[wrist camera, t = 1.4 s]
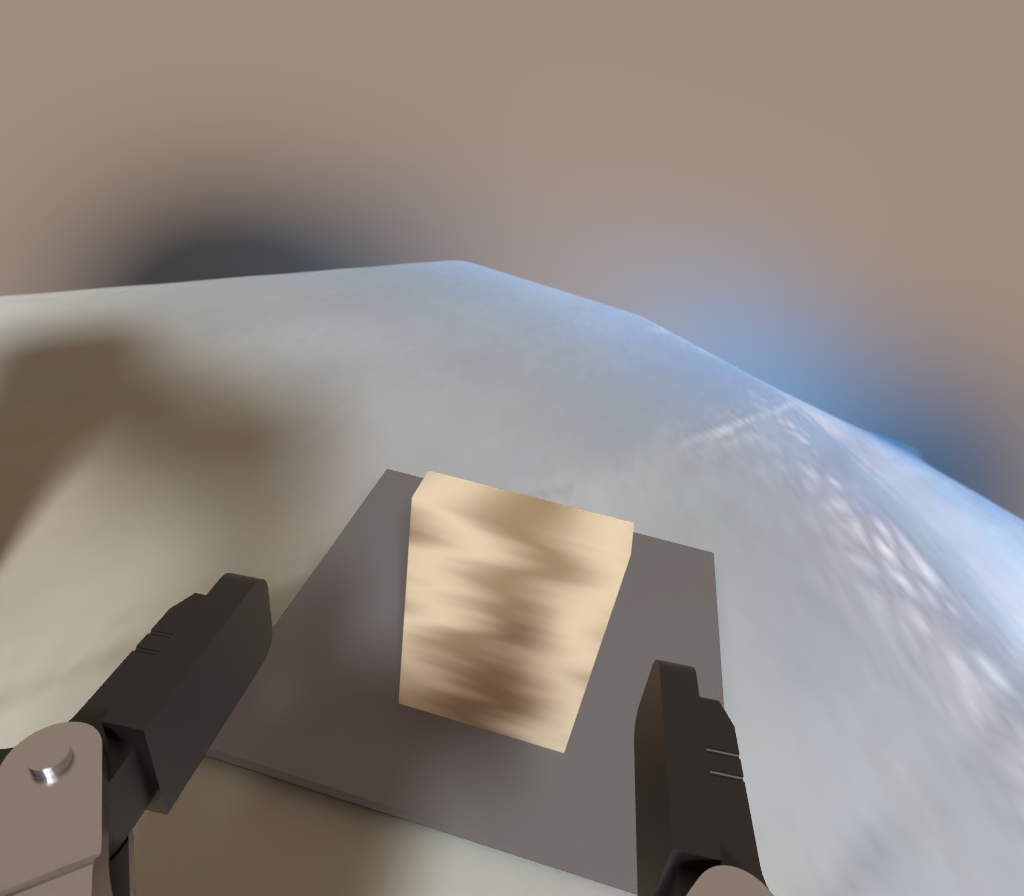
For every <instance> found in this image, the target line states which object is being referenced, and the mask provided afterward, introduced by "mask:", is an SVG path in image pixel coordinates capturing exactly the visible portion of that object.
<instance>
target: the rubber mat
mask: <svg viewBox="0 0 1024 896" xmlns="http://www.w3.org/2000/svg"><path fill="white" fill-rule="evenodd" d="M423 479H424V478H420V477H416V476H412V475H409V474H405V473H401V472H397V471H393V470H389V469H387V470H386V471H385V472H384V474H383V475H382V477H381V478H380V479H379V481H378V482H377V484H376V485H375V486H374V488H373V489H372V491H371V492H370V493H369V495H368V496H367V498H366V499H365V500H364V502H363V503H362V505H361V506H360V507H359V509H358V510H357V512H356V513H355V514H354V516H353V517H352V519H351V520H350V521H349V523H348V524H347V526H346V527H345V528H344V530H343V531H342V533H341V534H340V535H339V537H338V538H337V540H336V541H335V542H334V544H333V545H332V547H331V548H330V549H329V551H328V552H327V554H326V555H325V556H324V558H323V559H322V561H321V562H320V563H319V565H318V566H317V568H316V569H315V570H314V572H313V573H312V575H311V576H310V577H309V579H308V580H307V582H306V583H305V584H304V586H303V587H302V589H301V590H300V591H299V593H298V594H297V596H296V597H295V598H294V600H293V601H292V603H291V604H290V605H289V607H288V608H287V610H286V611H285V612H284V614H283V615H282V617H281V618H280V619H279V621H278V622H277V623H276V625H275V626H274V628H273V629H272V641H271V645H270V649H269V652H268V654H267V657H266V659H265V661H264V662H263V664H262V666H261V667H260V669H259V671H258V672H257V674H256V675H255V677H254V678H253V680H252V682H251V683H250V685H249V686H248V688H247V689H246V691H245V693H244V694H243V696H242V697H241V699H240V700H239V702H238V704H237V705H236V707H235V708H234V710H233V712H232V713H231V715H230V716H229V718H228V719H227V721H226V723H225V724H224V726H223V727H222V729H221V730H220V732H219V734H218V735H217V737H216V738H215V740H214V741H213V743H212V745H211V746H210V748H209V749H208V751H207V753H206V754H205V755H206V756H209V757H212V758H216V759H219V760H222V761H225V762H228V763H231V764H234V765H237V766H240V767H243V768H247V769H250V770H253V771H256V772H259V773H262V774H265V775H268V776H271V777H274V778H278V779H281V780H284V781H287V782H290V783H293V784H296V785H299V786H302V787H305V788H309V789H312V790H315V791H318V792H321V793H324V794H327V795H330V796H333V797H336V798H340V799H343V800H346V801H349V802H352V803H355V804H358V805H361V806H364V807H367V808H371V809H374V810H377V811H380V812H383V813H386V814H389V815H392V816H395V817H398V818H401V819H405V820H408V821H411V822H414V823H417V824H420V825H423V826H426V827H429V828H432V829H436V830H439V831H442V832H445V833H448V834H451V835H454V836H457V837H460V838H463V839H467V840H470V841H473V842H476V843H479V844H482V845H485V846H488V847H491V848H494V849H498V850H501V851H504V852H507V853H510V854H513V855H516V856H519V857H522V858H525V859H529V860H532V861H535V862H538V863H541V864H544V865H547V866H550V867H553V868H556V869H560V870H563V871H566V872H569V873H572V874H575V875H578V876H581V877H584V878H587V879H591V880H594V881H597V882H600V883H603V884H606V885H609V886H612V887H615V888H618V889H621V890H625V891H628V892H631V893H634V894H637V895H638V893H637V851H636V810H635V768H634V729H635V721H636V715H637V711H638V707H639V704H640V701H641V698H642V695H643V692H644V689H645V686H646V683H647V680H648V677H649V674H650V671H651V668H652V665H653V663H654V661H655V660H656V659H657V660H662V661H667V662H672V663H677V664H682V665H687V666H692V667H694V668H695V670H696V674H697V681H698V688H699V696H700V697H703V698H708V699H713V700H718V701H719V702H720V703H721V705H722V707H723V708H724V702H723V687H722V672H721V657H720V642H719V627H718V613H717V598H716V583H715V568H714V553H712V552H708V551H704V550H700V549H696V548H692V547H689V546H685V545H681V544H677V543H673V542H669V541H665V540H661V539H657V538H654V537H650V536H646V535H642V534H638V533H634V532H633V538H632V548H631V556H630V559H629V562H628V565H627V568H626V571H625V574H624V577H623V580H622V583H621V586H620V588H619V591H618V594H617V597H616V600H615V603H614V606H613V609H612V612H611V615H610V618H609V621H608V624H607V627H606V630H605V633H604V636H603V639H602V642H601V645H600V648H599V651H598V654H597V657H596V660H595V663H594V666H593V669H592V672H591V675H590V678H589V681H588V684H587V687H586V690H585V693H584V695H583V698H582V701H581V704H580V707H579V710H578V713H577V716H576V719H575V722H574V725H573V728H572V731H571V734H570V737H569V740H568V743H567V746H566V749H565V752H564V753H562V752H559V751H555V750H552V749H549V748H545V747H542V746H539V745H535V744H532V743H529V742H525V741H522V740H519V739H515V738H512V737H509V736H505V735H502V734H499V733H495V732H492V731H489V730H485V729H482V728H479V727H476V726H472V725H469V724H466V723H462V722H459V721H456V720H452V719H449V718H446V717H442V716H439V715H436V714H432V713H429V712H426V711H422V710H419V709H416V708H412V707H409V706H406V705H402V704H399V688H400V673H401V657H402V642H403V627H404V611H405V596H406V581H407V565H408V550H409V534H410V519H411V504H412V497H413V495H414V493H415V492H416V490H417V488H418V487H419V485H420V483H421V482H422V480H423Z"/></svg>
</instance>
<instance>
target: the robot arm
mask: <svg viewBox="0 0 1024 896" xmlns="http://www.w3.org/2000/svg"><path fill="white" fill-rule="evenodd" d="M271 641H272V623H271V614H270V604H269V594H268V586H267V583H266V581H265V580H263V579H258V578H253V577H248V576H243V575H238V574H233V573H227V574H225V575H223V576H222V577H221V578H220V579H219V581H218V582H217V583H216V584H215V585H214V587H213V588H212V589H211V590H210V591H209V593H208V594H207V595H202V594H197V593H194V594H193V595H191V596H190V597H188V598H186V599H185V600H183V601H182V602H180V603H178V604H177V605H175V606H174V607H172V608H170V609H169V610H168V611H167V612H166V614H165V615H164V616H163V617H162V618H161V619H160V620H159V621H158V623H157V624H156V625H155V626H154V627H153V628H152V629H151V633H150V634H147V635H146V636H145V637H144V638H143V640H142V641H141V642H140V643H139V644H138V645H137V646H136V650H135V651H132V652H131V653H130V654H129V655H128V656H127V658H126V659H125V660H124V661H123V662H122V663H121V664H120V665H119V667H118V668H117V669H116V670H115V671H114V672H113V673H112V674H111V676H110V677H109V678H108V679H107V680H106V681H105V682H104V684H103V685H102V686H101V687H100V688H99V689H98V690H97V691H96V693H95V694H94V695H93V696H92V697H91V698H90V699H89V700H88V702H87V703H86V704H85V705H84V706H83V707H82V708H81V709H80V711H79V712H78V713H77V714H76V715H75V716H74V717H73V718H72V719H71V720H70V721H68V722H64V723H59V724H55V725H52V726H49V727H46V728H43V729H41V730H39V731H37V732H35V733H34V734H32V735H30V736H28V737H27V738H26V739H24V740H23V741H21V742H20V743H19V744H18V745H17V746H16V747H14V748H8V749H0V896H135V872H134V842H133V831H132V829H133V827H134V826H135V824H136V823H137V821H138V820H139V818H140V817H141V815H142V814H143V812H144V811H145V810H150V811H154V812H158V813H163V814H168V812H169V811H170V809H171V808H172V806H173V805H174V803H175V801H176V800H177V798H178V797H179V795H180V794H181V792H182V790H183V789H184V787H185V786H186V784H187V782H188V781H189V779H190V778H191V776H192V775H193V773H194V771H195V770H196V768H197V767H198V765H199V764H200V762H201V760H202V759H203V757H204V756H205V754H206V753H207V751H208V749H209V748H210V746H211V745H212V743H213V741H214V740H215V738H216V737H217V735H218V734H219V732H220V730H221V729H222V727H223V726H224V724H225V723H226V721H227V719H228V718H229V716H230V715H231V713H232V712H233V710H234V708H235V707H236V705H237V704H238V702H239V700H240V699H241V697H242V696H243V694H244V693H245V691H246V689H247V688H248V686H249V685H250V683H251V682H252V680H253V678H254V677H255V675H256V674H257V672H258V671H259V669H260V667H261V666H262V664H263V662H264V661H265V659H266V657H267V654H268V652H269V649H270V645H271ZM634 768H635V810H636V851H637V893H638V896H773V894H772V893H771V892H770V891H769V889H768V887H767V885H766V883H765V880H764V878H763V875H762V871H761V867H760V863H759V857H758V852H757V846H756V841H755V836H754V830H753V825H752V819H751V814H750V809H749V803H748V798H747V793H746V787H745V782H743V771H742V766H741V760H740V759H739V749H738V744H737V739H736V733H735V728H734V725H733V724H732V722H731V720H730V719H729V717H728V715H727V713H726V712H725V710H724V708H723V707H722V705H721V703H720V702H719V701H718V700H713V699H708V698H703V697H700V696H699V688H698V681H697V674H696V670H695V668H694V667H692V666H687V665H682V664H677V663H672V662H667V661H662V660H657V659H656V660H655V661H654V663H653V665H652V668H651V671H650V674H649V677H648V680H647V683H646V686H645V689H644V692H643V695H642V698H641V701H640V704H639V707H638V711H637V715H636V721H635V729H634Z"/></svg>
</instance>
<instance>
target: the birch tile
mask: <svg viewBox="0 0 1024 896" xmlns="http://www.w3.org/2000/svg"><path fill="white" fill-rule="evenodd" d="M633 528H634V523H632V522H628V521H624V520H620V519H616V518H612V517H608V516H604V515H601V514H597V513H593V512H589V511H585V510H581V509H577V508H573V507H569V506H565V505H561V504H557V503H554V502H550V501H546V500H542V499H538V498H534V497H530V496H526V495H522V494H518V493H514V492H510V491H507V490H503V489H499V488H495V487H491V486H487V485H483V484H479V483H475V482H471V481H467V480H463V479H460V478H456V477H452V476H448V475H444V474H440V473H436V472H432V471H428V472H427V474H426V475H425V477H424V479H423V480H422V482H421V483H420V485H419V487H418V488H417V490H416V492H415V493H414V495H413V497H412V504H411V519H410V534H409V550H408V565H407V581H406V596H405V611H404V627H403V642H402V657H401V673H400V688H399V704H402V705H406V706H409V707H412V708H416V709H419V710H422V711H426V712H429V713H432V714H436V715H439V716H442V717H446V718H449V719H452V720H456V721H459V722H462V723H466V724H469V725H472V726H476V727H479V728H482V729H485V730H489V731H492V732H495V733H499V734H502V735H505V736H509V737H512V738H515V739H519V740H522V741H525V742H529V743H532V744H535V745H539V746H542V747H545V748H549V749H552V750H555V751H559V752H562V753H564V752H565V749H566V746H567V743H568V740H569V737H570V734H571V731H572V728H573V725H574V722H575V719H576V716H577V713H578V710H579V707H580V704H581V701H582V698H583V695H584V693H585V690H586V687H587V684H588V681H589V678H590V675H591V672H592V669H593V666H594V663H595V660H596V657H597V654H598V651H599V648H600V645H601V642H602V639H603V636H604V633H605V630H606V627H607V624H608V621H609V618H610V615H611V612H612V609H613V606H614V603H615V600H616V597H617V594H618V591H619V588H620V586H621V583H622V580H623V577H624V574H625V571H626V568H627V565H628V562H629V559H630V556H631V548H632V538H633Z"/></svg>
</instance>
